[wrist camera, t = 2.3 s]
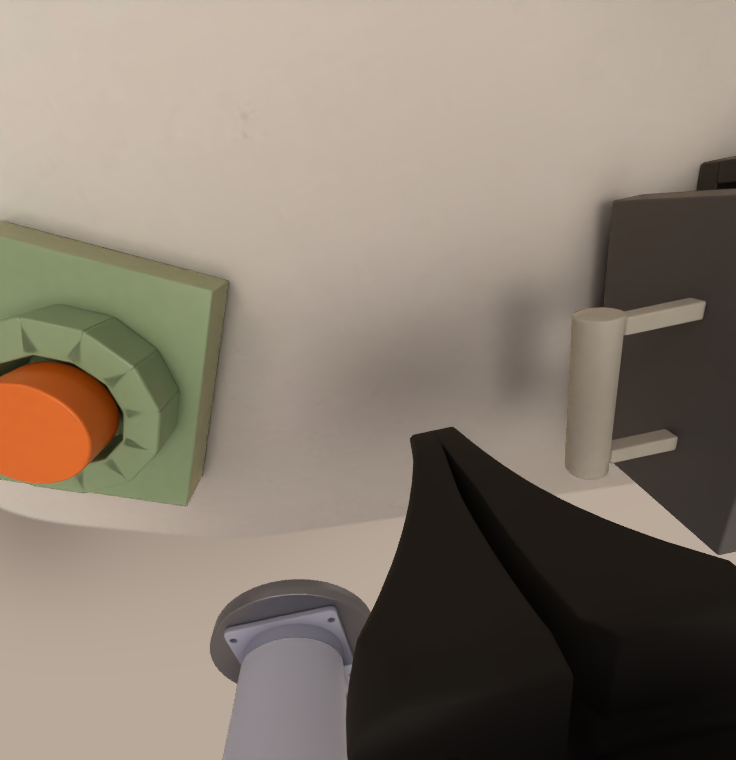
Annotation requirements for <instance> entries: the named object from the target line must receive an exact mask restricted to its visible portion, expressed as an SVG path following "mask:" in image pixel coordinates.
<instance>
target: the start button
mask: <svg viewBox="0 0 736 760" xmlns="http://www.w3.org/2000/svg"><path fill="white" fill-rule="evenodd" d="M118 427H119V412H118V408H117V405H116V403H115V401H114V399H113V397H112V395H111V394H110V393H109V391H108V390H107V389H106V388H105V387H104V386H103V385H102V384H101V383H100V382H99V381H98V380H97V379H95V378H94V377H92V376H91V375H89V374H88V373H86V372H84V371H82V370H80V369H78V368H76V367H73V366H70V365H66V364H62V363H57V362H34V363H29V364H26V365H23V366H21V367H19V368H17V369H15V370H13V371H11V372H9V373H7V374H5V375H3V376H1V377H0V474H2V475H4V476H6V477H9V478H12V479H15V480H18V481H22V482H27V483H36V484H49V483H56V482H61V481H64V480H67V479H69V478H72V477H74V476H75V475H77V474H78V473H80V472H81V471H82V470H83V469H84V468H85V467H86V466H87V465H88V464H89V463H90V462H91V461H92V460H93V459H94V458H95V457H96V456H97V455H98V454H99V453H100V452H101V451H102V450H103V449H104V448H105V447H106V446H107V445H108V444H109V443H110V442H111V440H112V439H113V438H114V436H115V435H116V433H117V430H118Z"/></svg>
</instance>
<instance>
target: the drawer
mask: <svg viewBox="0 0 736 760" xmlns="http://www.w3.org/2000/svg"><path fill="white" fill-rule="evenodd" d="M609 463H614V464H615V465H616V466H618V467H619V468H620V469H621V470H622V471H623V472H624V473H625V474H627V475H628V476H629V477H630V478H631V479H632V480H633V481H635V482H636V483H637V484H638V485H639V486H640V487H641V488H643V489H644V490H645V491H646V492H647V493H648V494H649V495H650V496H652V497H653V498H654V499H655V500H656V501H657V502H658V503H660V504H661V505H662V506H663V507H664V508H665V509H666V510H667V511H669V512H670V513H671V514H672V515H673V516H674V517H675V518H676V519H678V520H679V521H680V522H681V523H682V524H683V525H684V526H685V527H687V528H688V529H689V530H690V531H691V532H692V533H694V534H695V535H696V536H697V537H698V538H699V539H700V540H701V541H703V542H704V543H705V544H706V545H707V546H708V547H709V548H710V549H712V550H713V551H714V552H715V553H716V554H718V555H722V554H726V553H731V552H735V551H736V189H721V190H705V191H689V192H674V193H658V194H642V195H637V196H633V197H628V198H623V199H619V200H615V201H613V205H612V217H611V228H610V239H609V251H608V262H607V274H606V285H605V296H604V307H599V308H588V309H583V310H580V311H577V312H575V313H574V314H573V316H572V330H571V350H570V369H569V389H568V408H567V428H566V448H565V467H566V469H567V470H568V471H569V472H570V473H571V474H572V475H574V476H576V477H579V478H582V479H588V480H595V479H600V478H602V477H604V476H605V475H606V474H607V473H608V467H609Z"/></svg>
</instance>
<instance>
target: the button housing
mask: <svg viewBox="0 0 736 760" xmlns="http://www.w3.org/2000/svg"><path fill="white" fill-rule="evenodd" d="M228 284H229V281H228V280H224V279H220V278H217V277H213V276H209V275H205V274H201V273H197V272H194V271H190V270H186V269H182V268H178V267H175V266H171V265H167V264H163V263H159V262H156V261H152V260H148V259H144V258H140V257H137V256H133V255H129V254H125V253H121V252H118V251H114V250H110V249H106V248H102V247H99V246H95V245H91V244H87V243H83V242H80V241H76V240H72V239H68V238H64V237H60V236H57V235H53V234H49V233H45V232H41V231H38V230H34V229H30V228H26V227H22V226H19V225H15V224H11V223H7V222H3V221H0V377H1V376H3V375H5V374H7V373H9V372H11V371H13V370H15V369H17V368H19V367H21V366H23V365H26V364H29V363H34V362H57V363H62V364H66V365H70V366H73V367H76V368H78V369H80V370H82V371H84V372H86V373H88V374H89V375H91V376H92V377H94V378H95V379H97V380H98V381H99V382H100V383H101V384H102V385H103V386H104V387H105V388H106V389H107V390H108V391H109V393H110V394H111V395H112V397H113V399H114V401H115V403H116V405H117V408H118V412H119V427H118V430H117V433H116V435H115V436H114V438H113V439H112V440H111V442H110V443H109V444H108V445H107V446H106V447H105V448H104V449H103V450H102V451H101V452H100V453H99V454H98V455H97V456H96V457H95V458H94V459H93V460H92V461H91V462H90V463H89V464H88V465H87V466H86V467H85V468H84V469H83V470H82V471H81V472H80V473H78V474H77V475H75V476H74V477H72V478H69V479H67V480H64V481H61V482H56V483H49V484H36V483H27V482H22V481H18V480H15V479H12V478H9V477H6V476H4V475H2V474H0V480H6V481H13V482H20V483H27V484H30V485H33V486H37V487H44V488H51V489H58V490H65V491H72V492H79V493H89V492H90V493H97V494H104V495H111V496H118V497H125V498H132V499H139V500H145V501H152V502H159V503H166V504H173V505H180V506H187V505H188V503H189V501H190V499H191V497H192V495H193V493H194V491H195V489H196V487H197V485H198V483H199V481H200V479H201V477H202V474H203V467H204V460H205V452H206V445H207V438H208V430H209V423H210V416H211V408H212V401H213V394H214V386H215V379H216V372H217V364H218V357H219V350H220V342H221V335H222V328H223V320H224V313H225V306H226V299H227V291H228Z"/></svg>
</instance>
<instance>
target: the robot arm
mask: <svg viewBox="0 0 736 760" xmlns="http://www.w3.org/2000/svg"><path fill="white" fill-rule="evenodd" d="M410 443H411V449H412V454H413V477H412V487H411V493H410V500H409V505H408V510H407V515H406V519H405V523H404V527H403V531H402V535H401V538H400V541H399V544H398V548H397V551H396V554H395V557H394V560H393V562H392V565H391V568H390V570H389V572H388V575H387V578H386V580H385V582H384V585H383V587H382V590H381V592H380V595H379V597H378V599H377V601H376V603H375V605H374V607H373V609H372V611H371V613H370V615H369V617H368V619H367V621H366V623H365V625H364V627H363V629H362V631H361V633H360V635H359V637H358V639H357V643H356V648H355V653H354V656H353V653H352V651H351V648H350V645H349V642H348V639H347V637H346V634H345V631H344V628H343V626H342V623H341V620H340V617H339V614H338V612H337V609H336V608H335V607H334V606H326V607H321V608H317V609H312V610H307V611H303V612H298V613H293V614H289V615H284V616H279V617H275V618H270V619H265V620H260V621H256V622H251V623H246V624H242V625H237V626H232V627H229V628H227V629H226V630H225V633H224V638H225V640H226V641H227V643H228V645H229V646H230V648H231V650H232V651H233V653H234V655H235V656H236V658H237V660H238V661H239V663H240V665H241V669H240V674H239V679H238V684H237V689H236V694H235V699H234V704H233V709H232V715H231V719H230V724H229V729H228V734H227V739H226V744H225V749H224V754H223V759H222V760H736V566H735V565H734V564H733V563H731V562H730V561H728V560H725V559H722V558H718V557H715V556H712V555H709V554H705V553H702V552H699V551H695V550H692V549H689V548H685V547H682V546H679V545H676V544H672V543H669V542H666V541H663V540H660V539H657V538H654V537H651V536H648V535H646V534H643V533H640V532H638V531H635V530H632V529H629V528H627V527H624V526H621V525H619V524H616V523H614V522H611V521H609V520H606V519H604V518H601V517H599V516H597V515H595V514H592V513H590V512H588V511H585V510H583V509H581V508H579V507H576V506H574V505H572V504H570V503H568V502H566V501H564V500H561V499H560V498H558V497H556V496H554V495H552V494H551V493H549V492H547V491H545V490H543V489H541V488H539V487H537V486H536V485H534V484H532V483H530V482H529V481H527V480H525V479H524V478H522V477H521V476H519V475H517V474H516V473H514V472H513V471H511V470H510V469H508V468H507V467H505V466H504V465H502V464H501V463H500V462H498V461H497V460H495V459H494V458H493V457H491V456H490V455H488V454H487V453H486V452H484V451H483V450H482V449H480V448H479V447H478V446H476V445H475V444H474V443H473V442H471V441H470V440H469V439H468V438H466V437H465V436H464V435H463V434H461V433H460V432H459V431H458V430H457V429H455V428H454V427H448V428H443V429H439V430H434V431H429V432H425V433H420V434H415V435H413V436H412V437H411V438H410Z"/></svg>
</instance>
